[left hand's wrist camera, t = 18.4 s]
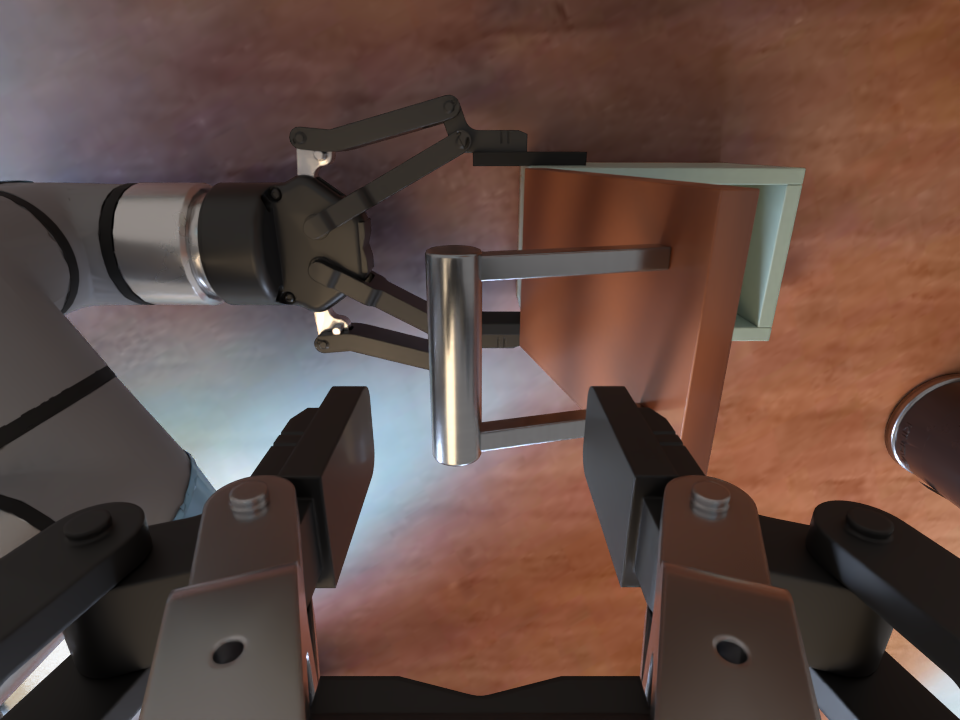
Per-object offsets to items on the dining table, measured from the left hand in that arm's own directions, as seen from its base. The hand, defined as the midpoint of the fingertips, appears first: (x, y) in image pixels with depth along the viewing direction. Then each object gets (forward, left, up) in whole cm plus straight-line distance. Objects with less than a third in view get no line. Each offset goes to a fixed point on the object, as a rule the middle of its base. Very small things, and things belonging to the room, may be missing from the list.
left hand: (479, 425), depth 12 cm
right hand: (-6, +2, -24) cm, 24 cm away
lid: (-5, +1, -11) cm, 12 cm away
